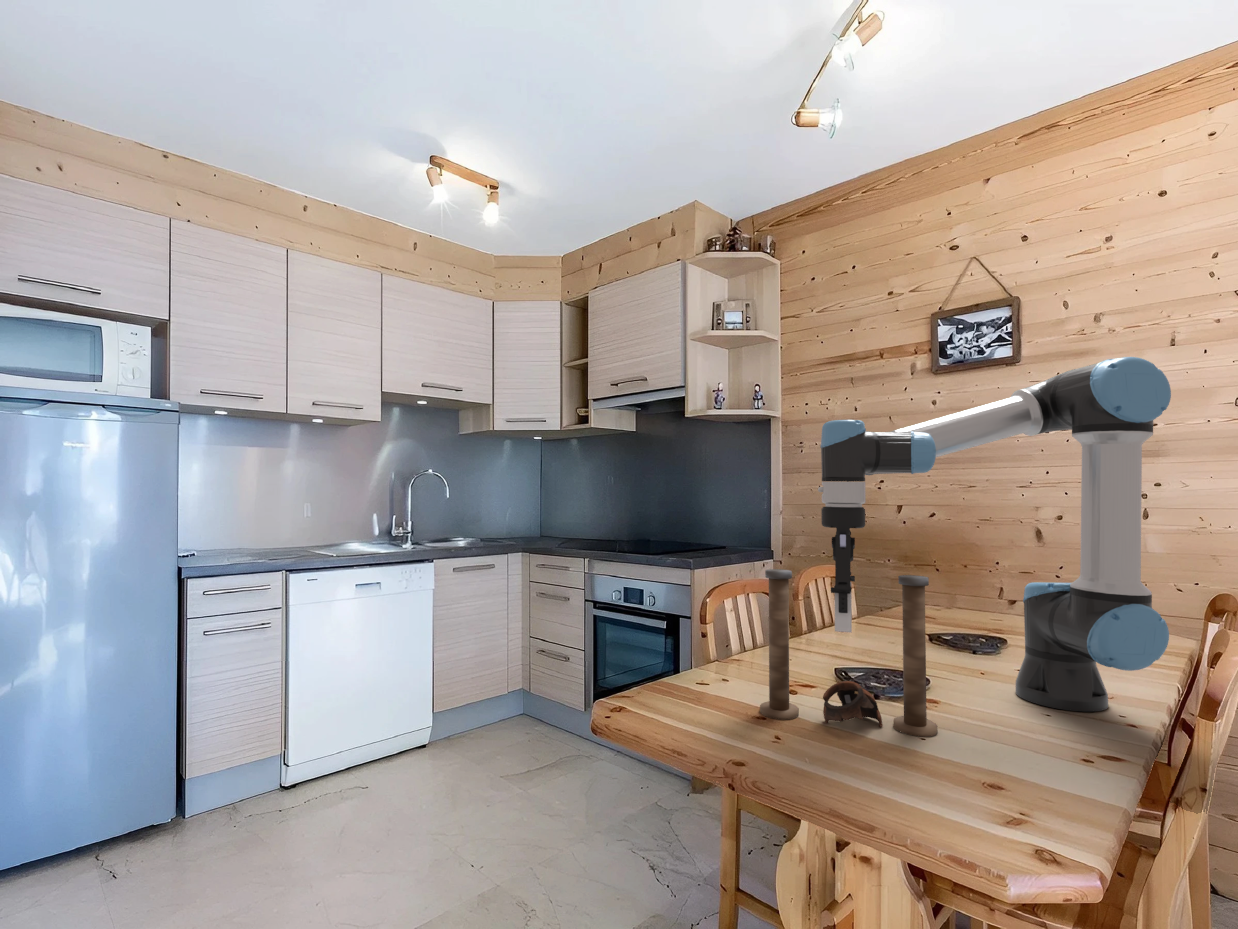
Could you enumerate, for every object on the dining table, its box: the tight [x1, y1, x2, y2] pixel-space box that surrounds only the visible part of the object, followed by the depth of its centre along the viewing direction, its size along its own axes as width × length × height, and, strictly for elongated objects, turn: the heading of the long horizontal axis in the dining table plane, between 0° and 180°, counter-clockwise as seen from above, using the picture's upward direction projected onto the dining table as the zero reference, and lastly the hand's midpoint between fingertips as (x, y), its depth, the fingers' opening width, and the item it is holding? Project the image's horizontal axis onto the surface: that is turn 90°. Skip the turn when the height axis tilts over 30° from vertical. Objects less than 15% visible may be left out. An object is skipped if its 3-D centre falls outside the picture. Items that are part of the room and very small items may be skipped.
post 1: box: [759, 568, 800, 721], centre depth 120 cm, size 7×7×26 cm
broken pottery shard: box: [822, 680, 884, 728], centre depth 116 cm, size 12×10×8 cm
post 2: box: [892, 574, 939, 738], centre depth 113 cm, size 7×7×26 cm
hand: (843, 623), depth 117 cm, fingers open, 13 cm apart
